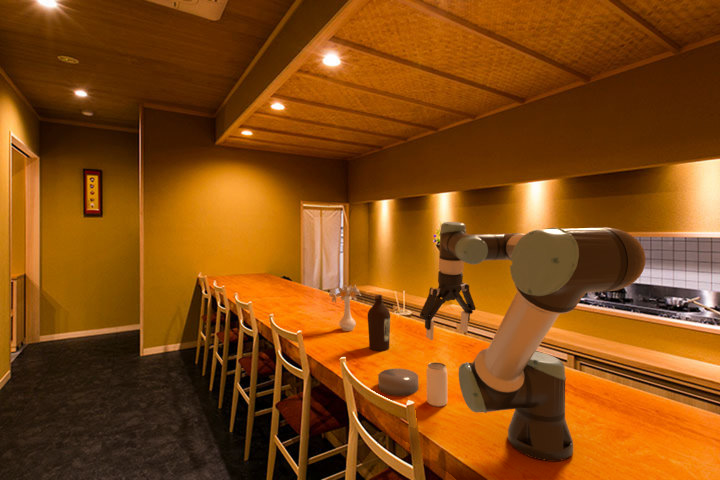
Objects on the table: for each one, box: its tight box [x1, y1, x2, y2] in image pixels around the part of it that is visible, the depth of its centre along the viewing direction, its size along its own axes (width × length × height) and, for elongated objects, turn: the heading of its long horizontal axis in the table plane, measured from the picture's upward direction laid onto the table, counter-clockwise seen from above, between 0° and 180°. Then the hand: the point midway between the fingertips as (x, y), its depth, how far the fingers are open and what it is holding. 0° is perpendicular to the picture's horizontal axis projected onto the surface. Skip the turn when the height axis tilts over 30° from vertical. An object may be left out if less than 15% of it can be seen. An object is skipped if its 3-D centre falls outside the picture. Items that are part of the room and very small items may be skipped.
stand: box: [377, 368, 419, 397], centre depth 132 cm, size 14×14×4 cm
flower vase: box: [329, 284, 362, 332], centre depth 207 cm, size 13×18×25 cm
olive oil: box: [367, 294, 391, 352], centre depth 175 cm, size 11×11×25 cm
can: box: [426, 362, 448, 408], centre depth 120 cm, size 6×6×12 cm
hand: (447, 334), depth 121 cm, fingers open, 13 cm apart
